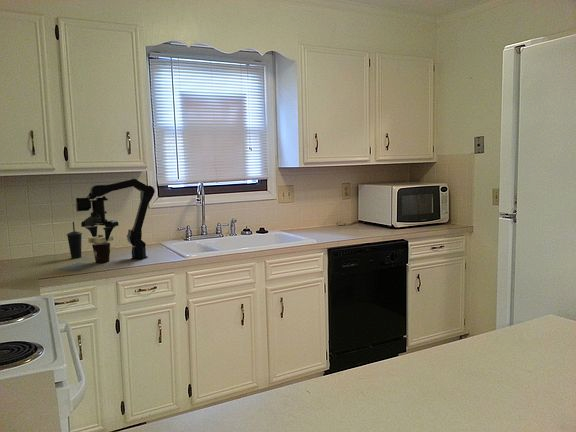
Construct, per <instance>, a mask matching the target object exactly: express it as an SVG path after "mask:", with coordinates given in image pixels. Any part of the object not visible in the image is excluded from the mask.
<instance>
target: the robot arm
mask: <svg viewBox="0 0 576 432" xmlns="http://www.w3.org/2000/svg"><path fill="white" fill-rule="evenodd" d="M131 187H133V188H134V189H136V190H137V191H139V192H140V194H139V198H140V201H139V204H138V205H139V206H138V209H137V211H136V212H137V213H136V216H135V218H134V219H135V220H134V223H133V227H132V228H131V229H128V231H127V235H126V237H127V238H126V240H127V242H128V243H129V244H130V245H131V246H132V247H131V258H130V260H139V261H140V260H144V259H147V258H149V256H147V252H146V251H147V248H146V245H147V243H146V242H144V241H143V240H142V239H143V238H142V237H143V235H142V234H143V233H142V232H143V231H142V230H143V225H144V221H145V218H146V215H147V210H148V207H149V203H150V202H151V200H152V199H153V197H154V195H155V193H156V192H155V191H156V190H155V188H154V187H153V186H151V185H147V184H146V183H143V182H141V181H140V180H138V179H136V178H130V179H127V180H126V179H125V180H122V181H118V182H114V183H109V184H94V185H92V186H91V187H90V189H89V193H88V195H87V196H86V197H76V198H75V211H76V212H87V211H90V209H92V212H90V216H88V217H87V218H85V219H84V220H82V221H81V223H80V225H81V228H85V229H87V230H88V231H89V232H90V234H91V236H92V237H96V236H98V226H104V227H102V230H104V235H105V238H106V241H108V239H109V237H110V235H111V234H112V231H113V229H114V228H116V227H118V226H119V221H118V220H116V219H115V220H113V219H112V220H111V219H110V220H108V219H107V218H106V214H107V213H108V212H107V211H106V210H105V208H106V207H105V202H107V201H108V200H109V199H108V198H107V197H106V196H105V195H106V194H108V193H111V192H115V191H118V190H123V189H129V188H131ZM108 242H109V241H108Z"/></svg>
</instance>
